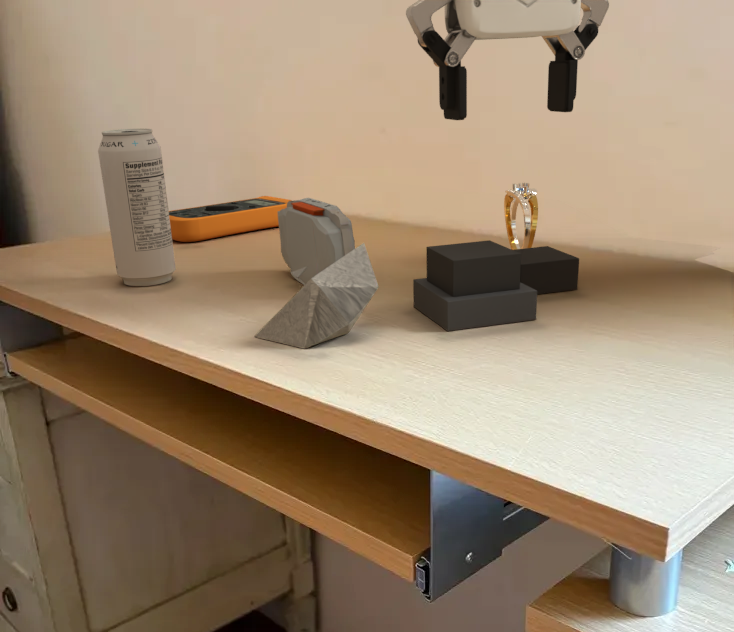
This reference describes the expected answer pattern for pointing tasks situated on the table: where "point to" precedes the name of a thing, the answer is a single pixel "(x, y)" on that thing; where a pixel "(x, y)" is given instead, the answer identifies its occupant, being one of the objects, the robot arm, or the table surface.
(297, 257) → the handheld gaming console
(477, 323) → the base pad
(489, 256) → the black square block
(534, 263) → the graphite pad
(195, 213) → the multimeter
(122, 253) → the energy drink can
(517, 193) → the ring
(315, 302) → the grey angular faceted piece
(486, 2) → the robot arm
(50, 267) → the table surface
